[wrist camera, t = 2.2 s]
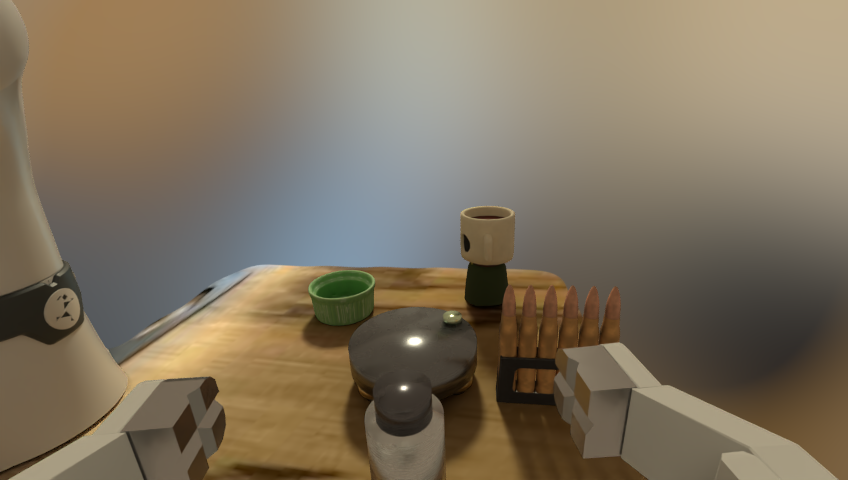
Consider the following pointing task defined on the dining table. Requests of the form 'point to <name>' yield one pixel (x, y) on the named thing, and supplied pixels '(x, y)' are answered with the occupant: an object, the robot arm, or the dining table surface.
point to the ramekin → (342, 297)
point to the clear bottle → (405, 429)
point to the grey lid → (415, 349)
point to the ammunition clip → (547, 341)
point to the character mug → (487, 252)
